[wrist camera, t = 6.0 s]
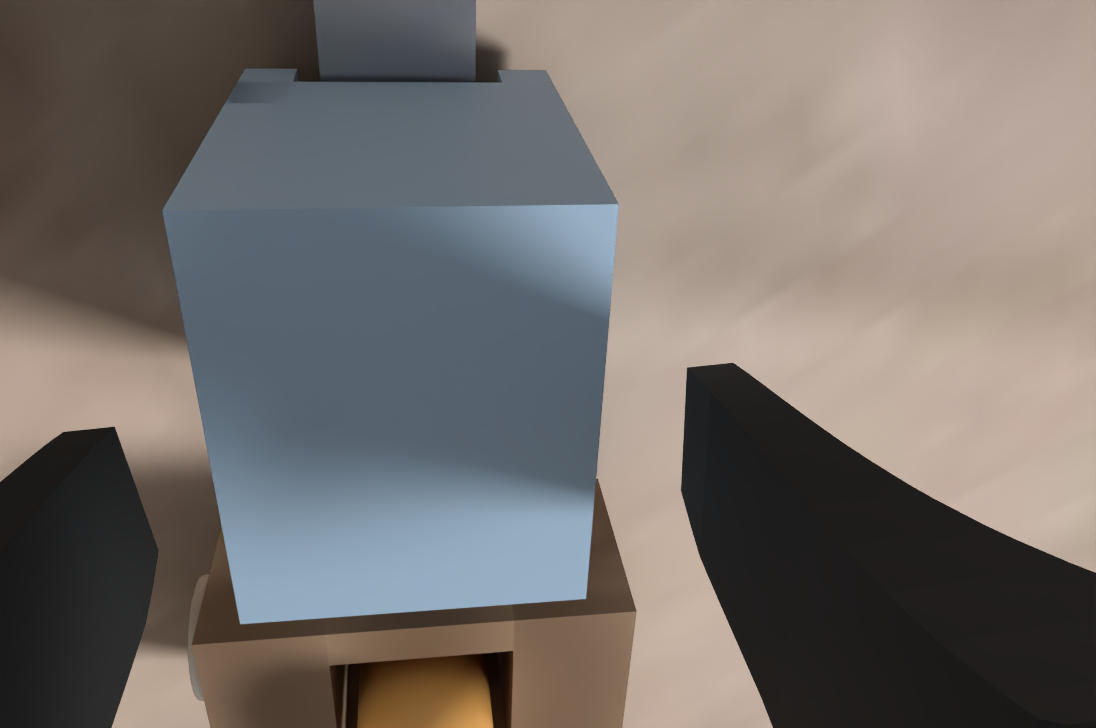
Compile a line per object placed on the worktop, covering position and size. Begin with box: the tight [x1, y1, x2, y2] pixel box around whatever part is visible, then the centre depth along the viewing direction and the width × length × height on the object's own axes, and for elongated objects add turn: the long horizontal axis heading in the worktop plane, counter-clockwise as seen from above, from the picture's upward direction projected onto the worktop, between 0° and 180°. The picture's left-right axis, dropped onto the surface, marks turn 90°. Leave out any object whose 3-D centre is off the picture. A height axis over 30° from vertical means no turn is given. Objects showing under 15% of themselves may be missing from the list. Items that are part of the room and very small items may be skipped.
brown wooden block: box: [188, 479, 636, 728], centre depth 20 cm, size 8×5×4 cm, turn 88°
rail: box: [313, 0, 476, 82], centre depth 14 cm, size 4×20×3 cm, turn 178°
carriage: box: [162, 69, 619, 624], centre depth 14 cm, size 5×6×6 cm
